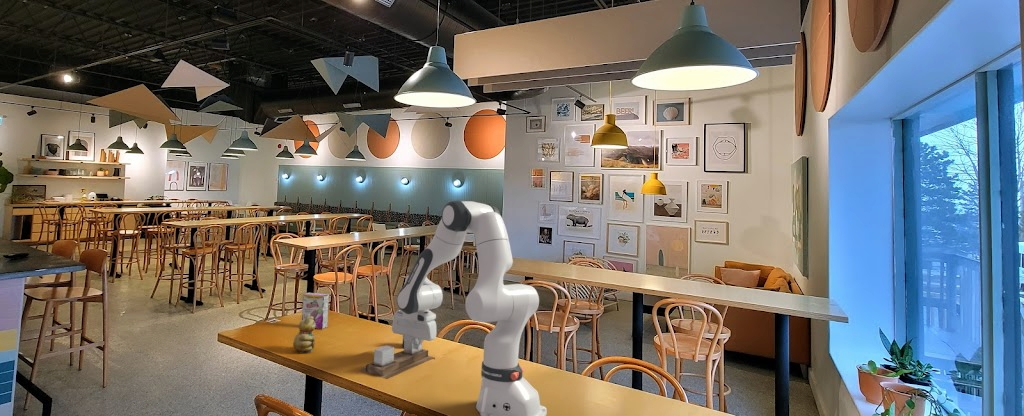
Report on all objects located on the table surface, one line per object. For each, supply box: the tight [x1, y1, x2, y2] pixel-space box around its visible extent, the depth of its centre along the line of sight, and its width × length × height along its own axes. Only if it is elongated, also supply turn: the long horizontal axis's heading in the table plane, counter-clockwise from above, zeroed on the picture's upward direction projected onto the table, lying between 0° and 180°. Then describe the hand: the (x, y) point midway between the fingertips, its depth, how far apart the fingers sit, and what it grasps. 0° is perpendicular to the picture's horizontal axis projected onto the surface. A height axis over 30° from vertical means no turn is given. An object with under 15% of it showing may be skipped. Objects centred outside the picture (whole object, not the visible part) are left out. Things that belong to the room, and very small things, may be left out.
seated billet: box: [373, 345, 395, 368], centre depth 168 cm, size 4×6×8 cm, turn 152°
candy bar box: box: [301, 292, 330, 330], centre depth 223 cm, size 11×5×16 cm, turn 82°
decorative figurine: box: [292, 314, 316, 353], centre depth 189 cm, size 10×8×15 cm
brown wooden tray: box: [358, 348, 436, 380], centre depth 175 cm, size 14×27×4 cm, turn 152°
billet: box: [403, 335, 423, 356], centre depth 182 cm, size 4×6×8 cm, turn 152°
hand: (412, 347), depth 182 cm, fingers closed on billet, 4 cm apart
